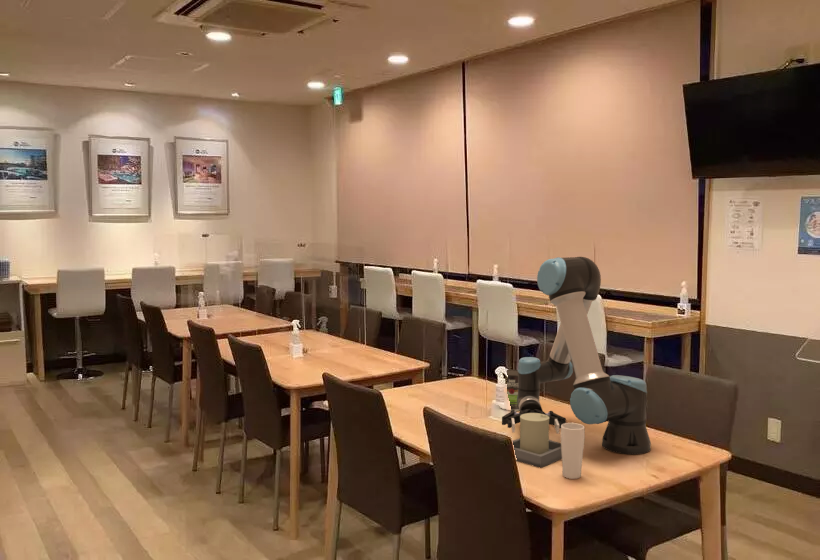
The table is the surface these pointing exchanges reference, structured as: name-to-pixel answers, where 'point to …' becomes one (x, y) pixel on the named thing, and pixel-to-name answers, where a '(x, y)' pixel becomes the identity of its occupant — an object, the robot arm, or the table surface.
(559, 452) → the tray
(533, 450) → the can
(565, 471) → the drinking glass
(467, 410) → the table surface
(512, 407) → the coffee can
